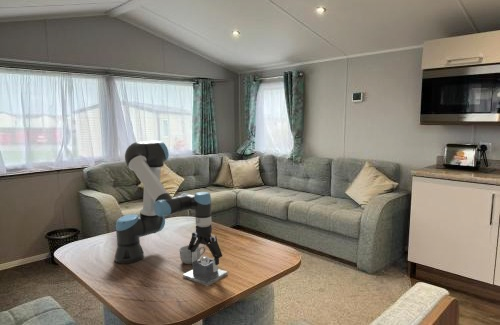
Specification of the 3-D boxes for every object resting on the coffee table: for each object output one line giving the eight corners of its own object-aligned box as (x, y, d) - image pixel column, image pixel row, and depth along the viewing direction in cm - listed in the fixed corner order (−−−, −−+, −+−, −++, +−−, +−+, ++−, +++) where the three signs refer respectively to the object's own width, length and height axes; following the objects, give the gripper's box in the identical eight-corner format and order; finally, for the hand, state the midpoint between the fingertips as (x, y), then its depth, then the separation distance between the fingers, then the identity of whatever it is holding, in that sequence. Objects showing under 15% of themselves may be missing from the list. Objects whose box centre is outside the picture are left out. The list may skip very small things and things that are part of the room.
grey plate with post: (183, 277, 161) (182, 258, 160) (203, 266, 173) (202, 249, 172) (207, 286, 152) (207, 266, 151) (227, 274, 163) (226, 255, 162)
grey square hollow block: (192, 274, 161) (192, 262, 160) (204, 267, 168) (204, 256, 167) (205, 278, 156) (205, 266, 156) (217, 271, 163) (217, 260, 162)
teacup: (180, 267, 172) (180, 252, 171) (179, 259, 183) (178, 245, 182) (207, 264, 176) (207, 249, 175) (204, 256, 186) (204, 242, 185)
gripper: (179, 222, 163) (181, 264, 166) (218, 231, 149) (219, 277, 152) (190, 218, 170) (192, 259, 172) (229, 227, 155) (230, 270, 158)
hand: (205, 267), depth 162 cm, fingers open, 13 cm apart
